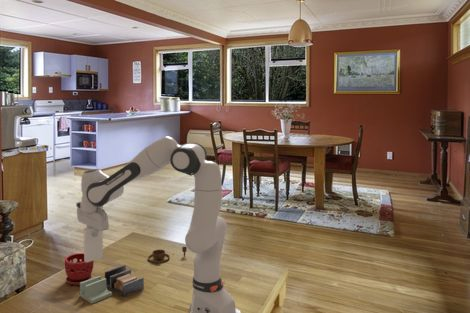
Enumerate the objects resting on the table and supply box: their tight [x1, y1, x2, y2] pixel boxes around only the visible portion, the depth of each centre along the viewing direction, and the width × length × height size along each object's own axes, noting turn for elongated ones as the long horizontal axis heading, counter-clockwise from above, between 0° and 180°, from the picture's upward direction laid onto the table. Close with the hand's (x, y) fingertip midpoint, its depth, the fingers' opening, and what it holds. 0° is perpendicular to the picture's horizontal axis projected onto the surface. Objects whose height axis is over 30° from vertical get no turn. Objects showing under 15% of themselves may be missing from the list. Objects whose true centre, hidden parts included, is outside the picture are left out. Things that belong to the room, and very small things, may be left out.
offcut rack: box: [104, 264, 145, 298], centre depth 186 cm, size 15×11×8 cm
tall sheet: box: [83, 227, 104, 262], centre depth 177 cm, size 2×8×15 cm, turn 140°
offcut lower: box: [114, 282, 122, 291], centre depth 185 cm, size 7×9×2 cm
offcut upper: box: [117, 273, 138, 285], centre depth 185 cm, size 6×7×2 cm
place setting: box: [147, 246, 188, 266], centre depth 220 cm, size 18×20×6 cm
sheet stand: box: [79, 275, 113, 304], centre depth 178 cm, size 10×10×6 cm
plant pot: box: [64, 252, 95, 286], centre depth 192 cm, size 13×13×12 cm
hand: (93, 235), depth 177 cm, fingers closed on tall sheet, 2 cm apart
